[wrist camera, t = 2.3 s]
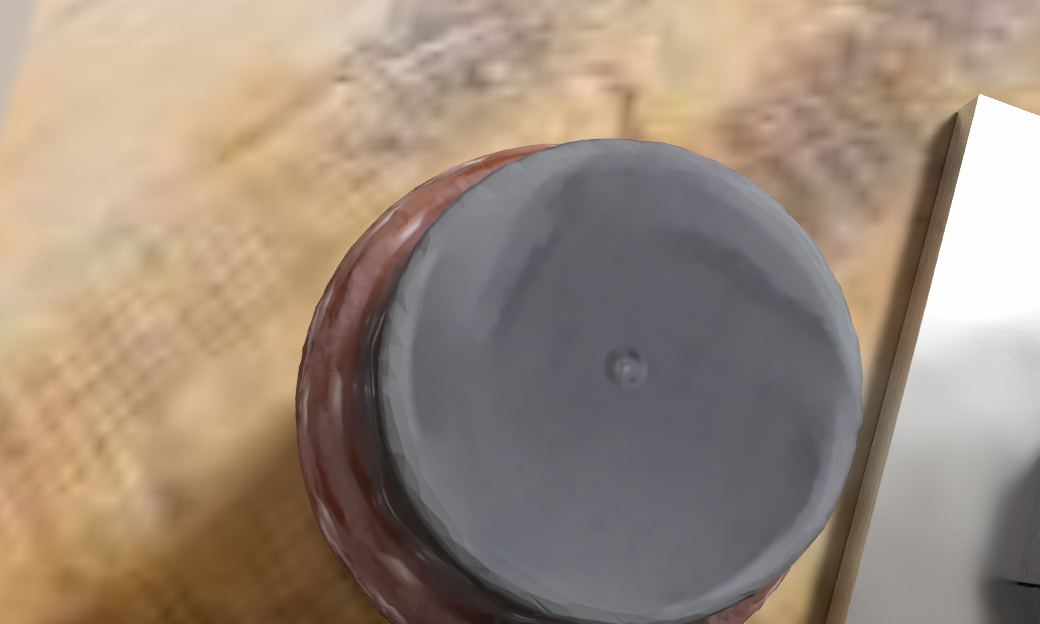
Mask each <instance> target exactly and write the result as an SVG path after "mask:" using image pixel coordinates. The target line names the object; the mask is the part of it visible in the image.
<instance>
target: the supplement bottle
mask: <svg viewBox="0 0 1040 624" xmlns="http://www.w3.org/2000/svg"><path fill="white" fill-rule="evenodd" d="M862 380H863V375H862V364H861V356H860V348H859V340H858V336H857V334H856V332H855V329H854V327H853V324H852V321H851V316H850V312H849V309H848V306H847V303H846V301H845V298H844V295H843V292H842V289H841V287H840V285H839V283H838V282H837V280H836V278H835V277H834V275H833V273H832V272H831V270H830V268H829V267H828V265H827V263H826V261H825V259H824V257H823V255H822V253H821V252H820V250H819V248H818V247H817V245H816V244H815V242H814V240H813V239H812V238H811V237H810V236H809V235H808V234H807V233H806V232H805V231H804V230H803V229H802V228H801V227H800V226H799V224H798V223H797V222H796V221H795V220H794V219H793V218H792V217H791V216H790V215H789V214H788V213H787V212H786V210H785V209H784V208H783V207H782V206H781V205H780V204H779V203H778V202H777V201H776V200H775V199H774V198H773V197H771V196H770V195H768V194H767V193H765V192H764V191H763V190H762V189H761V188H759V187H758V186H757V185H756V184H754V183H753V182H752V181H750V180H749V179H748V178H746V177H745V176H744V175H742V174H740V173H738V172H736V171H733V170H731V169H730V168H728V167H726V166H724V165H723V164H721V163H719V162H717V161H715V160H712V159H709V158H706V157H703V156H700V155H697V154H695V153H693V152H691V151H688V150H686V149H684V148H681V147H678V146H674V145H670V144H666V143H662V142H646V141H637V140H631V139H590V140H581V141H575V142H569V143H564V144H539V145H531V146H524V147H519V148H513V149H508V150H503V151H500V152H496V153H493V154H489V155H485V156H482V157H479V158H476V159H473V160H471V161H468V162H465V163H462V164H460V165H457V166H454V167H452V168H450V169H449V170H447V171H445V172H443V173H441V174H439V175H437V176H435V177H434V178H432V179H430V180H428V181H426V182H425V183H423V184H421V185H419V186H418V187H416V188H415V189H413V190H412V191H411V192H410V193H408V194H407V195H406V196H404V197H403V198H402V199H400V200H399V201H398V202H396V203H395V204H394V205H392V206H391V207H390V208H388V209H387V210H386V211H385V212H384V213H383V214H382V215H381V216H380V217H379V218H378V219H377V220H376V221H375V222H374V223H373V224H372V225H371V226H370V227H369V228H368V229H367V230H366V232H365V233H364V234H363V235H362V236H361V237H360V238H359V239H358V240H357V241H356V242H355V244H354V245H353V246H352V247H351V248H350V250H349V251H348V252H347V254H346V255H345V257H344V258H343V260H342V261H341V263H340V264H339V266H338V268H337V269H336V271H335V273H334V275H333V276H332V278H331V280H330V281H329V283H328V285H327V286H326V289H325V291H324V294H323V296H322V298H321V299H320V301H319V303H318V304H317V306H316V308H315V312H314V315H313V318H312V321H311V324H310V326H309V329H308V333H307V337H306V340H305V344H304V346H303V350H302V359H301V363H300V366H299V371H298V379H297V388H296V397H295V399H296V423H297V443H298V452H299V459H300V465H301V469H302V473H303V477H304V481H305V486H306V490H307V493H308V496H309V499H310V503H311V507H312V510H313V513H314V515H315V517H316V520H317V522H318V525H319V527H320V530H321V533H322V535H323V537H324V539H325V540H326V542H327V544H328V546H329V547H330V549H331V551H332V552H333V554H334V555H335V556H336V558H337V560H338V562H339V563H340V565H341V567H342V568H343V569H344V570H345V572H346V573H347V574H348V576H349V577H350V578H351V580H352V581H353V582H354V584H355V585H356V586H357V587H358V588H359V590H360V591H361V593H362V594H363V595H364V596H365V597H366V598H367V599H368V600H369V601H370V602H371V604H372V606H373V607H374V608H375V609H376V610H377V611H378V613H379V614H380V615H382V616H383V617H385V618H386V619H388V620H389V621H390V623H391V624H743V623H744V622H745V621H746V620H747V619H748V618H749V617H750V616H751V615H752V614H753V613H755V612H756V611H758V610H759V609H760V608H761V607H762V605H763V604H764V602H765V600H766V599H767V598H768V596H769V595H770V594H771V593H772V592H773V591H774V590H776V589H777V587H778V586H779V585H780V583H781V582H782V581H783V579H784V577H785V576H786V574H787V573H788V571H789V570H790V567H791V566H792V565H793V564H794V563H795V562H796V561H797V560H798V559H799V557H800V556H801V555H802V554H803V553H804V552H805V550H806V549H807V548H808V547H809V546H810V545H811V543H812V542H813V541H814V540H815V539H816V538H817V536H818V535H819V534H820V533H821V532H822V530H823V529H824V528H825V526H826V524H827V522H828V520H829V518H830V516H831V515H832V513H833V511H834V509H835V507H836V504H837V501H838V499H839V497H840V495H841V494H842V492H843V490H844V487H845V483H846V480H847V476H848V473H849V470H850V468H851V464H852V461H853V457H854V454H855V451H856V442H857V436H858V434H859V432H860V430H861V429H862V427H863V416H864V415H863V408H862Z"/></svg>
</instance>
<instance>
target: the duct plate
mask: <svg viewBox="0 0 1040 624" xmlns="http://www.w3.org/2000/svg"><path fill="white" fill-rule="evenodd" d="M826 624H1040V117H1039V116H1036V115H1034V114H1031V113H1028V112H1025V111H1023V110H1020V109H1017V108H1015V107H1012V106H1009V105H1007V104H1004V103H1001V102H998V101H996V100H993V99H990V98H988V97H985V96H982V95H979V96H977V97H976V98H974V99H973V100H972V101H970V102H969V103H968V104H966V105H965V106H963V107H962V108H961V109H959V112H958V115H957V119H956V123H955V127H954V131H953V135H952V139H951V142H950V146H949V150H948V154H947V158H946V162H945V165H944V169H943V173H942V177H941V181H940V185H939V189H938V192H937V196H936V200H935V204H934V208H933V212H932V216H931V219H930V223H929V227H928V231H927V235H926V239H925V243H924V246H923V250H922V254H921V258H920V262H919V266H918V269H917V273H916V277H915V281H914V285H913V289H912V293H911V296H910V300H909V304H908V308H907V312H906V316H905V320H904V323H903V327H902V331H901V335H900V339H899V343H898V347H897V350H896V354H895V358H894V362H893V366H892V370H891V374H890V377H889V381H888V385H887V389H886V393H885V397H884V400H883V404H882V408H881V412H880V416H879V420H878V424H877V427H876V431H875V435H874V439H873V443H872V447H871V451H870V454H869V458H868V462H867V466H866V470H865V474H864V478H863V481H862V485H861V489H860V493H859V497H858V501H857V504H856V508H855V512H854V516H853V520H852V524H851V528H850V531H849V535H848V539H847V543H846V547H845V551H844V555H843V558H842V562H841V566H840V570H839V574H838V578H837V582H836V585H835V589H834V593H833V597H832V601H831V605H830V608H829V612H828V616H827V620H826Z"/></svg>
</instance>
